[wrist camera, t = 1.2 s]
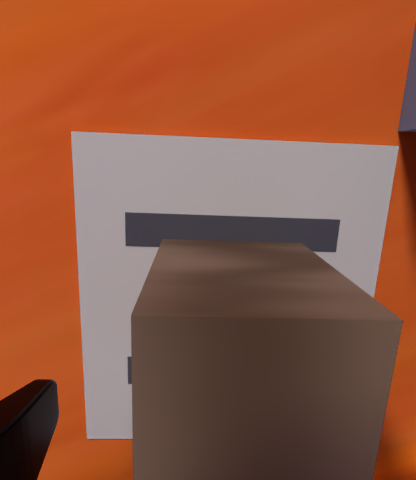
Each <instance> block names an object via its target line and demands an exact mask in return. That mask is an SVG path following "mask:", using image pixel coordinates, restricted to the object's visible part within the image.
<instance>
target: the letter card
mask: <svg viewBox="0 0 416 480" xmlns="http://www.w3.org/2000/svg"><path fill="white" fill-rule="evenodd" d="M71 139H72V158H73V178H74V197H75V216H76V236H77V255H78V275H79V294H80V313H81V333H82V352H83V371H84V391H85V410H86V429H87V439H133V432H132V360H131V314H132V312H133V309H134V307H135V304H136V302H137V299H138V297H139V295H140V292H141V290H142V287H143V285H144V282H145V280H146V278H147V275H148V273H149V270H150V268H151V266H152V263H153V261H154V258H155V256H156V253H157V251H158V249H159V246H160V244H161V241H162V239H184V240H217V241H250V242H283V243H302V244H304V245H305V246H306V247H308V248H309V249H310V250H311V251H313V252H314V253H315V254H317V255H318V256H319V257H321V258H322V259H323V260H324V261H326V262H327V263H328V264H330V265H331V266H332V267H334V268H335V269H336V270H337V271H339V272H340V273H341V274H343V275H344V276H345V277H347V278H348V279H349V280H351V281H352V282H353V283H354V284H356V285H357V286H358V287H360V288H361V289H362V290H364V291H365V292H366V293H367V294H369V295H370V296H371V297H373V298H374V293H375V287H376V281H377V275H378V269H379V263H380V257H381V251H382V245H383V239H384V233H385V227H386V221H387V215H388V209H389V203H390V197H391V191H392V185H393V179H394V173H395V167H396V161H397V155H398V149H399V146H385V145H362V144H340V143H318V142H296V141H273V140H251V139H229V138H207V137H184V136H162V135H140V134H117V133H95V132H73V131H71Z"/></svg>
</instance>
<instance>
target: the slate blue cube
mask: <svg viewBox="0 0 416 480" xmlns="http://www.w3.org/2000/svg"><path fill="white" fill-rule="evenodd" d="M398 131H400V132H416V24H415V30H414V36H413V42H412V48H411V55H410V61H409V67H408V73H407V79H406V85H405V91H404V98H403V104H402V110H401V116H400V122H399V128H398Z"/></svg>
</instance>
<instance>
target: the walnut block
mask: <svg viewBox="0 0 416 480" xmlns="http://www.w3.org/2000/svg"><path fill="white" fill-rule="evenodd" d="M402 323H403V320H401V319H400V318H399V317H397V316H396V315H395V314H393V313H392V312H391V311H390V310H388V309H387V308H386V307H384V306H383V305H382V304H380V303H379V302H378V301H377V300H375V299H374V298H373V297H371V296H370V295H369V294H367V293H366V292H365V291H364V290H362V289H361V288H360V287H358V286H357V285H356V284H354V283H353V282H352V281H351V280H349V279H348V278H347V277H345V276H344V275H343V274H341V273H340V272H339V271H337V270H336V269H335V268H334V267H332V266H331V265H330V264H328V263H327V262H326V261H324V260H323V259H322V258H321V257H319V256H318V255H317V254H315V253H314V252H313V251H311V250H310V249H309V248H308V247H306V246H305V245H304V244H302V243H283V242H250V241H217V240H184V239H162V241H161V244H160V246H159V249H158V251H157V253H156V256H155V258H154V261H153V263H152V266H151V268H150V270H149V273H148V275H147V278H146V280H145V282H144V285H143V287H142V290H141V292H140V295H139V297H138V299H137V302H136V304H135V307H134V309H133V312H132V314H131V360H132V432H133V480H373V475H374V470H375V465H376V459H377V454H378V449H379V444H380V438H381V433H382V428H383V423H384V417H385V412H386V407H387V402H388V396H389V391H390V386H391V381H392V375H393V370H394V365H395V360H396V355H397V349H398V344H399V339H400V334H401V328H402Z"/></svg>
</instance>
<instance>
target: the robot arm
mask: <svg viewBox="0 0 416 480" xmlns="http://www.w3.org/2000/svg"><path fill="white" fill-rule="evenodd" d="M58 416H59V407H58V394H57V384H56V382H55V381H54V380H45V379H37V380H34V381H32V382H31V383H29V384H27V385H26V386H24V387H22V388H21V389H19V390H17V391H16V392H14V393H12V394H11V395H9V396H7V397H6V398H4V399H2V400H1V401H0V480H37V478H38V475H39V472H40V470H41V467H42V464H43V461H44V458H45V456H46V453H47V450H48V447H49V444H50V441H51V439H52V436H53V433H54V430H55V427H56V425H57V421H58Z"/></svg>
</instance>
